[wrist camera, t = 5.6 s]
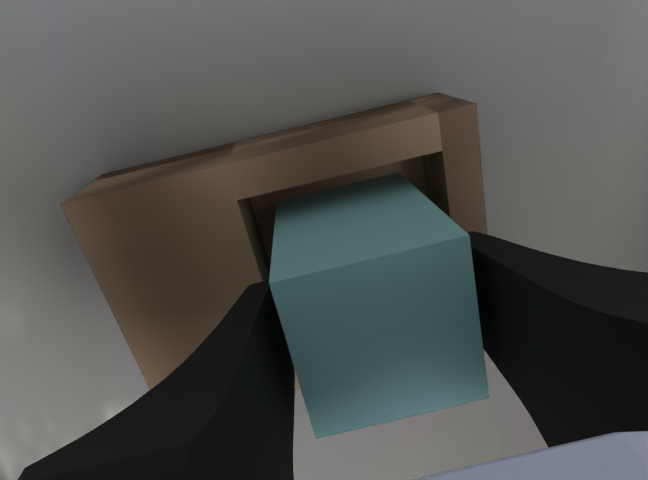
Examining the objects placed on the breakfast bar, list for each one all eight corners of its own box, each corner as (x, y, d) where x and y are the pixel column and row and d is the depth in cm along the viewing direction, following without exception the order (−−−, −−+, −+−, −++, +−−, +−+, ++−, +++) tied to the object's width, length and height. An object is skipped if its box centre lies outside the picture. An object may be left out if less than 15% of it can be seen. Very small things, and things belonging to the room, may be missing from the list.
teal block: (398, 172, 14) (469, 235, 9) (417, 282, 16) (489, 397, 10) (276, 202, 14) (269, 283, 9) (306, 309, 16) (316, 438, 10)
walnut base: (438, 93, 14) (476, 103, 12) (462, 295, 17) (496, 342, 15) (102, 174, 14) (59, 204, 12) (183, 361, 17) (165, 420, 15)
